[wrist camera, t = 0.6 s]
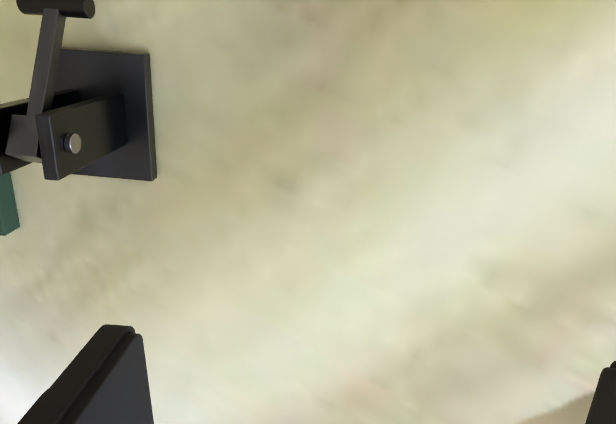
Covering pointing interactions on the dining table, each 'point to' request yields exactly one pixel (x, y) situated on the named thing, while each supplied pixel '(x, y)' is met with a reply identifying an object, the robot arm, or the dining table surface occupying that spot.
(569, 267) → the dining table surface
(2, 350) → the dining table surface
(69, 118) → the switch bracket
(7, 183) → the button block
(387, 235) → the dining table surface
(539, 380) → the dining table surface
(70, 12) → the switch lever
